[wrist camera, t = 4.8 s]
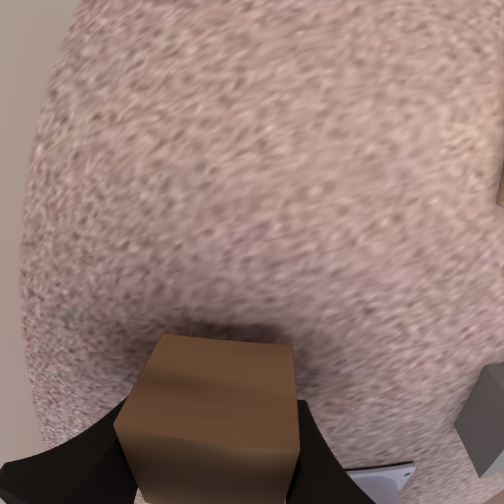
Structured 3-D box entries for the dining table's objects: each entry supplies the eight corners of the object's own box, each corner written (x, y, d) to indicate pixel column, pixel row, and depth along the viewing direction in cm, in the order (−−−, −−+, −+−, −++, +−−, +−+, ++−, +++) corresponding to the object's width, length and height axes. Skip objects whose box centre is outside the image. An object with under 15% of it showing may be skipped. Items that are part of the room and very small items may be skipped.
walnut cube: (279, 429, 13) (278, 519, 8) (173, 418, 13) (145, 502, 9) (292, 344, 12) (300, 449, 7) (162, 333, 12) (113, 424, 7)
